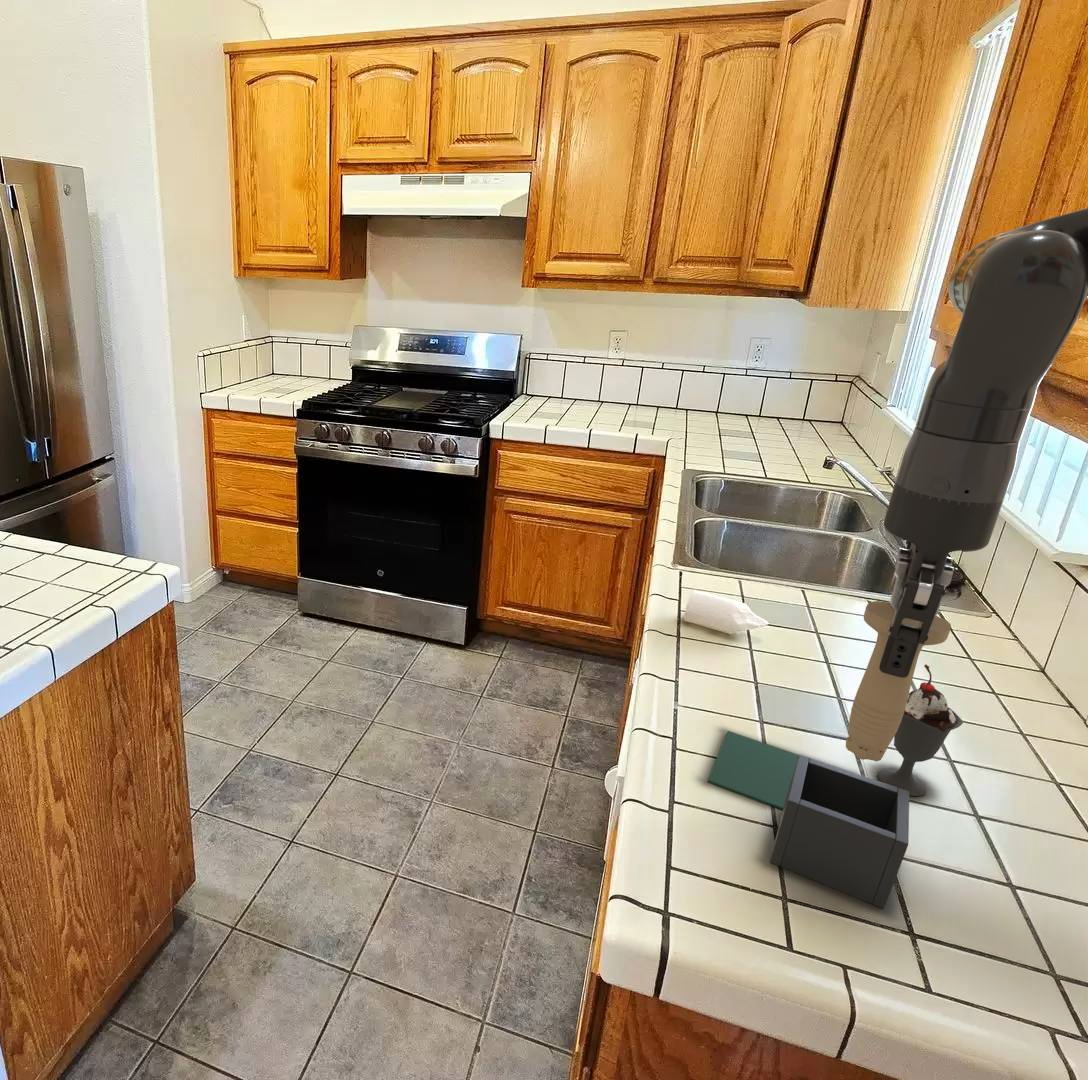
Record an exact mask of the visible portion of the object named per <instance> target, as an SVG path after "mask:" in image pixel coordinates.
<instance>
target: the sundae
mask: <svg viewBox="0 0 1088 1080" xmlns="http://www.w3.org/2000/svg"><path fill="white" fill-rule="evenodd" d="M924 668H925V670H926V671H927V673H928V675H929V678H928V682H925V681H924V682H921V683H920V684H919V688H918V689H915V690H914V689H913V690H912V691H909V695H908V699H907V704H906V708H905V711H904V714H903V717H902V720H901V723H900V725H899V727H898V730H897V732H896V734H895V736H894V738H893V746H894V748H895V749H896V751H897V753H898V754H899V755H900V756H901V757H902V759H903V760H902V762H901V765H900V767H899V768H895V767H894V768H893V767H883V768H881V769H879V770H878V771H877V778H878V780H879V781H880V782H883V783H886V784H889V785H891V786H894V787H897V788H900V789H903V790H906V791H909V797H921V796H924V795H925V794H926V793H927V792H928V790H927V786H926V785H925V783H924V782H923V780H921V779H920V778H919V777H917V776H915V775H913V770H914V768H915V764H916V763H922V762H926V761H930V760H932V759H933V758H934V757H935V756H936V754H937V753H938V752H939V751H940V749H941V747H942V745H943V744H944V742H945V741H946V739H947V737H948V736H949V734H950V732H951V731H953V730H955V729H959V728H960V727H961V726H962V725H963V724H964V721H963V719H962V718H961V717H960V716H959V715H958V714H957V713H956V712H955V711H954V710H953V709H952V708H950V707H949V706H948V699H947V698H946V697H945V695H944V694H943V693H942V692H940V690H938V689H936V687H935V686H934V684H932V678H933V677H932V673H931V671H930V666H929V665H928V664H926V663H925V664H924Z"/></svg>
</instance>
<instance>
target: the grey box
mask: <svg viewBox="0 0 1088 1080" xmlns="http://www.w3.org/2000/svg"><path fill="white" fill-rule="evenodd" d="M798 755H799V756H798V759H797V763H796V766H795V770H794V773H793V776H792V780H791V783H790V787H789V790H788V794H787V797H786V800H785V804H784V807H783V810H781V815H780V818H779V823H778V827H777V831H776V835H775V839H774V843H773V847H772V851H771V855H770V860H769V863H772V864H773V865H776V866H778V867H780V868H783V869H786V870H788V871H790V872H792V873H795V874H797V875H800V876H803V877H805V878H807V879H810V880H812V881H815V882H817V883H818V884H819V883H820V884H822V885H824V886H827V887H830V888H832V889H834V890H837V891H839V892H841V893H844V894H846V895H849V896H851V897H854V898H856V899H858V900H861V901H863V902H865V903H868V904H870V905H871V904H872V905H873V906H875V907H878V908H880V909H883V910H884V909H885V907H886V905H887V902H888V900H889V897H890V895H891V892H892V889H893V887H894V884H895V881H896V879H897V876H898V873H899V871H900V868H901V866H902V863H903V860H904V857H905V855H906V853H907V849H908V847H909V837H910V836H909V834H910V833H909V831H910V830H909V829H910V826H909V825H910V796H909V791H906V790H903V789H900V788H897V787H894V786H891V785H889V784H886V783H883V782H881V781H880V780H877V779H873V778H872V777H871V778H870V777H868V776H866V775H865V776H864V775H862V774H859V773H856V772H853V771H850V770H847V769H844V768H841V767H838V766H834V765H833V764H829V763H826V762H823V761H822V760H821V761H820V760H818V759H814V758H812V757H809V756H806V755H803V754H800V753H799V754H798Z"/></svg>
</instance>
